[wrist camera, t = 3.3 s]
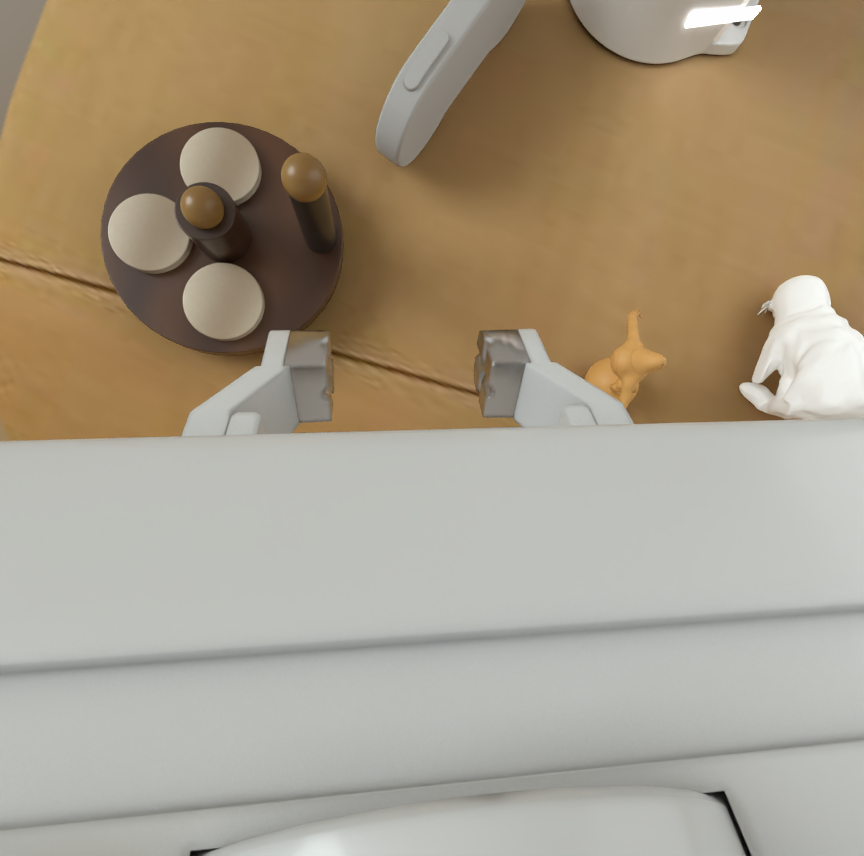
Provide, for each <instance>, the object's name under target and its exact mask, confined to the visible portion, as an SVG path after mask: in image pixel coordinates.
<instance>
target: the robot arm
mask: <svg viewBox="0 0 864 856" xmlns="http://www.w3.org/2000/svg"><path fill="white" fill-rule="evenodd" d="M570 2H571V5H572V7H573V9H574V11H575V13H576V15H577V17H578V18H579V20H580V21H581V23H582V24H583V25H584V27H585V28H586V29H587V30H588V32H589V33H590V34H591V35H592V36H593V37H594V38H595V39H596V40H597V41H599V42H600V43H601V44H602V45H604V46H605V47H606V48H608V49H609V50H611V51H613V52H614V53H616V54H618V55H620V56H623V57H625V58H628V59H630V60H634V61H637V62H642V63H650V64H663V63H671V62H675V61H679V60H682V59H685V58H687V57H690V56H693V55H697V54H702V53H703V54H712V55H729V54H732V53H734V52H735V51H736V50H737V48H738V47H739V46H740V44H741V43H742V42H743V40H744V38H745V36H746V34H747V31H748V28H749V26H750V23H751V20H752V19H753V18H754V17H755V16H756V15H757V14H758V13H759V12H760V10H761V6H757V5H758V2H759V0H570ZM477 345H478V349H479V354H478V355H477V356H476V357H475V363H474V382H475V388H476V391H478V392H479V393H480V397H479V404H480V407H481V411H482V415H483V417H514V418H513V419H514V420H515V421H516V422H517V423H518V424H520V425H521V426H522V427H507V428H470V429H434V430H397V431H360V432H323V433H292V432H293V431H294V430H295V428H296V427H297V426H298V425H299V423H302V422H322V421H332V410H333V400H332V394H333V393H334V367H333V359H332V358H331V337H330V331H307V330H291V331H290V330H271V331H270V332H269V335H268V339H267V343H266V347H265V351H264V355H263V359H262V363H261V366H255V367H254V368H252V369H251V370H249V371H248V372H247V373H245V374H244V375H242V376H241V377H239V378H238V379H237V380H235V381H234V382H232V383H231V384H230V385H228V386H227V387H225V388H224V389H222V390H221V391H220V392H218V393H217V394H215V395H214V396H212V397H211V398H210V399H208V400H207V401H205V402H204V403H202V404H201V405H200V406H198V407H197V408H195V409H194V410H193V411H191V412H190V415H189V417H188V420H187V423H186V425H185V428H184V431H183V433H182V436H175V437H138V438H101V439H64V440H26V441H0V856H864V418H838V419H804V420H768V421H730V422H692V423H655V424H634V423H633V421H632V419H631V417H630V416H629V414H628V412H627V410H626V409H625V407H624V405H623V403H622V402H620V401H618V400H617V399H615V398H614V397H612V396H610V395H609V394H607V393H605V392H604V391H602V390H600V389H599V388H597V387H596V386H594V385H592V384H591V383H589V382H587V381H586V380H584V379H582V378H581V377H579V376H578V375H576V374H574V373H573V372H571V371H569V370H568V369H566V368H564V367H563V366H561V365H559V364H558V363H556V362H551V361H550V359H549V357H548V355H547V352H546V350H545V348H544V346H543V344H542V342H541V339H540V337H539V335H538V333H537V331H536V330H535V329H516V330H484V331H480V332H479V335H478V341H477Z"/></svg>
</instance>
